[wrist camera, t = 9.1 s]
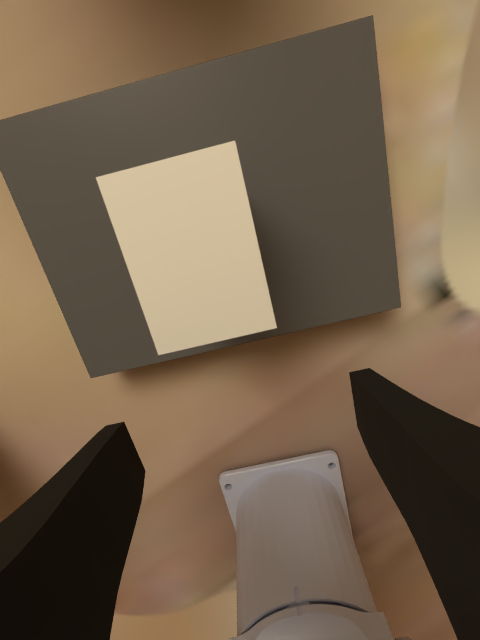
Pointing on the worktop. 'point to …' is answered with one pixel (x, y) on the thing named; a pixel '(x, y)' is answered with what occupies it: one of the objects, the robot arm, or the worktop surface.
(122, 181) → the plug
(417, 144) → the worktop surface
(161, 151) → the socket block
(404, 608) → the worktop surface
